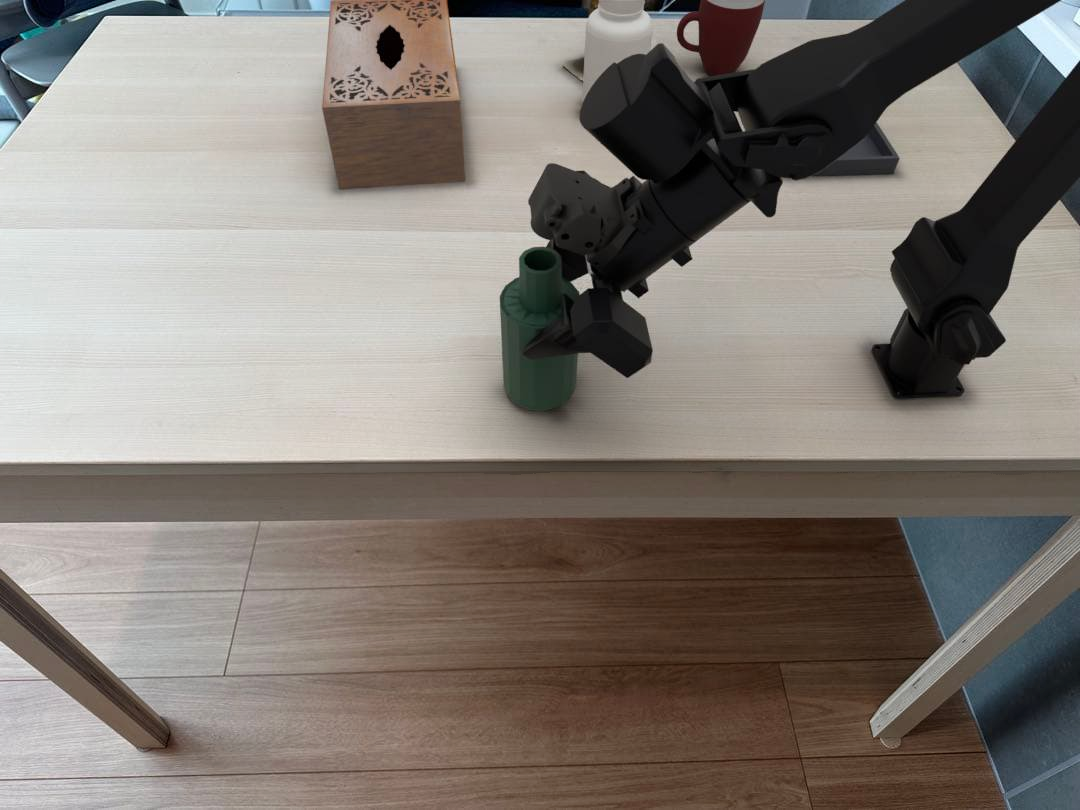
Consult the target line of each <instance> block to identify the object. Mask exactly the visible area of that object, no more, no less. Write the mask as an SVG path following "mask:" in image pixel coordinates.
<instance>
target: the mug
mask: <svg viewBox="0 0 1080 810" xmlns="http://www.w3.org/2000/svg"><path fill="white" fill-rule="evenodd" d="M765 3H766V0H700V4H699V7H698V11H689V12H687V13H686V14H684V15H683V17H682V18H681V19H680V20H679V22H678V24H677V27H676V39H677V42H678V44H679V45H680V46H681V47H682V48H683V49H685V50H686V51H689V52H694V53H698V55H699V57H700V60H701V63H702V66H703V68H704V71H705V73H707V75H710V76H716V75H722V74H728V73H734V72H737V70H738V68H739V67H740V66H741V65H742V64H743V62H744V61H745V60H746V58H747V56H748V54H749V51H750V49H751V47H752V44H753V42H754V39H755V36H756V35H757V31H758V29H759V27H760V24H761V21H762V17H763V12H764V9H765ZM691 22H698V23H697V24H698V44H693V43H690V42H688V41H687V39H686V38H685V35H684V34H685V33H684V32H685V29H686V27H687V25H688V24H689V23H691Z"/></svg>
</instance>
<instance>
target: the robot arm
mask: <svg viewBox="0 0 1080 810" xmlns="http://www.w3.org/2000/svg"><path fill="white" fill-rule="evenodd" d="M1061 1H1062V0H903V1H901V2H900V3H898V4H896V5H895V6H893V7H892V8H890V9H889V10H887V11H886V12H884V13H883V14H881V15H879V16H877V18H875V19H873V20H872V21H871V22H869V23H867V24H865V25H863V26H861V27H859V28H857V29H854V30H853V31H851V32H848V33H844V34H837V35H832V36H827V37H821V38H820V37H819V38H815V39H811V40H808V41H806V42H803V43H802V44H800V45H798V46H796V47H794V48H791V49H789V50H787V51H786V52H783V53H781V54H778V55H777V56H775V57H773V58H771V59H769V60H767V61H765V62H763V63H761V64H760V65H759V66H757V68H753V69H747V70H742V71H741V70H740V71H735V72H734V73H728V74H722V75H716V76H712V75H710V76H704V77H698V78H697V79H695V80H694V81H693V80H692V79H691V78H690V77H689V76H688V74H687V73H686V72H685V71H684V70H683V69H682V67H680V65H679V63H678V61H677V59H676V57H675V55H674V54H673V53H672V52H671V50H670V49H669V48H668V47H667V46H666V45H665V43H662V42H661V43H660V42H659V43H657V44H656V45H655V46H653V48H651V50H650V52H649V53H647V54H646V55H645V54H635V55H631V56H629V57H627V58H625V59H623V60H622V61H620V62H619V63H617V64H616V63H615V62H614V63H612V64H611V65H610V66H609V67H608V68H607V69H606V70H605V71H604V72H603V73H602V74H601V75H600V76H599V77H598V79H597V80H596V81H595V83H594V84H593V85H592V87H591V88H590V90H589V91H588V93H587V95H586V97H585V99H584V101H583V103H582V102H581V103H582V104H581V106H580V111H579V119H578V120H579V123H580V124H581V125H580V126H582V128H584V129H585V130H586V131H587V132H588V133H589V134H590V135H591V136H592V137H593V138H594V139H595V140H596V141H597V142H598V143H600V144H601V145H602V146H603V147H604V148H605V149H607V151H608V152H610V154H612V155H613V156H614V157H615V158H616V159H617V160H618V161H619V162H620V163H621V164H622V165H624V167H626V168H627V169H628V170H629V171H630V172H631V173H632V174H633V175H632V176H631V177H630V178H628V177H624V178H623V179H622V180H620V182H618V183H617V184H616V185H614V186H612V187H611V186H609V185H606V184H605V183H602V182H601V181H599V180H598V179H597V178H595V177H593V176H592V175H590V174H589V173H588V172H587V171H585V170H574V169H572V168H569V167H567V166H566V167H565V166H564V165H560V164H558V163H553V162H550V163H547V164H546V166H545V168H544V169H543V171H542V173H541V176H539V178H538V181H537V182H536V184H535V186H534V189H533V190H532V192H531V194H530V196H529V197H528V200H527V202H528V203H527V204H528V206H529V208H530V209H529V210H530V222H529V223H530V227H531V230H532V231H533V233H535V235H536V236H539V237H540V238H542V239H545V240H547V241H548V242H547V244H546V246H545V247H547V248H551V249H554V250H555V251H556V252H557V253H558V254H560V255H561V260H562V276H561V277H562V278H564V279H566V280H567V281H569V282H571V283H573V281H575V280H578V279H580V278H581V277H583V276H586V275H590V277H591V283H592V288H591V287H590V288H587V289H585V290H584V291H583V292H581V293H579V294H580V295H579V296H578V297H577V298H576V300H573V299H572V298H571V297H569V296H568V295H566V294H565V293H563V295H562V311H561V314H560V315H559V316H558V317H557V318H556V319H554V320H553V321H552V322H551V323H550V324H549V325H548V326H547V327H546V328H544V329H543V330H542V331H541V332H540V333H539V334H538V335H537V336H536V337H534V338H533V339H532V340H531V341H530V342H529V343H528V344H527V346H526V347H525V348H524V349H523V350H522V355H523V356H524V357H526V358H527V359H529V360H536V359H543V358H550V357H557V356H564V355H571V354H578V355H579V354H591V355H593V356H594V357H595V358H597V359H599V360H600V361H601V362H603V363H604V364H606V365H607V366H609V367H610V368H612V369H613V370H615V371H616V372H617V373H619V374H620V375H622V376H624V377H625V378H626V379H629V378H631V377H632V376H633V375H635V374H636V373H638V372H639V371H641V370H642V369H644V368H645V367H647V366H649V365H650V364H651V363H652V359H653V352H654V349H653V344H652V341H651V337H650V336H651V335H650V332H649V328H648V322H647V319H646V317H645V315H643V314H641V313H640V312H639V311H638V310H636V309H635V308H634V307H632V306H631V305H630V304H629V303H627V302H626V301H624V296H623V293H624V292H627V291H629V292H630V293H631V294H632V295H633V296H635V297H636V298H637V299H640V298H641V297H643V296H644V295H645V294H647V293H648V292H650V289H649V286H648V282H647V278H649V277H650V276H651V275H653V274H654V273H656V272H658V271H659V270H660V269H661V268H662V267H664V266H665V265H666V264H668V263H670V262H671V261H672V260H673V261H674V262H675V264H677V265H678V266H680V267H681V268H683V267H684V266H685V265H686V264H688V263H689V262H691V261H692V260H693V256H692V253H691V249H690V247H691V246H692V245H695V243H696V242H698V241H699V240H700V239H701V238H703V237H705V236H706V235H707V234H708V233H710V232H711V231H713V230H714V229H715V228H716V227H718V226H719V225H720V224H722V223H723V222H725V221H726V220H727V219H729V218H730V217H731V216H733V215H734V214H735V213H737V212H738V211H739V210H741V209H742V208H744V207H745V206H746V205H748V204H749V203H752V204H753V206H755V207H756V208H757V210H759V211H760V212H761V213H762V214H763V215H764V216H765V217H766V218H769V219H770V218H773V217H774V216H775V215H776V213H777V205H778V197H779V192H780V189H781V187H782V185H783V183H784V181H783V179H792V180H793V181H800V180H805V179H807V178H810V177H813V176H812V175H814V174H817V173H819V172H820V171H822V170H823V169H825V168H826V167H828V166H829V165H830V164H832V163H833V162H834V161H836V160H837V159H838V158H840V157H841V156H842V155H844V154H845V153H846V152H848V151H849V150H850V149H852V148H853V147H854V146H856V145H857V144H858V143H859V142H861V141H862V140H863V139H864V138H865V137H866V136H867V135H868V133H869V132H870V130H871V129H872V128H873V126H874V125H875V123H876V122H877V123H878V121H879V119H880V118H881V116H882V115H883V113H884V112H885V111H886V110H887V109H888V108H889V106H891V105H893V104H894V103H895V102H896V101H898V100H899V99H900V98H901V97H903V96H904V95H905V94H907V93H909V92H910V91H912V90H913V89H915V88H917V87H919V86H920V85H922V84H923V83H925V82H927V81H929V80H930V79H932V78H934V77H935V76H937V75H938V74H940V73H942V72H944V71H945V70H948V69H949V68H951V67H952V66H954V65H955V64H958V63H959V62H960V61H962V60H964V59H966V58H967V57H969V56H971V55H972V54H974V53H976V52H977V51H979V50H981V49H982V48H984V47H985V46H987V45H989V44H991V43H992V42H995V41H996V40H997V39H999V38H1000V37H1001V38H1002V37H1003V36H1004V35H1005V34H1008V33H1009V32H1011V31H1013V30H1014V29H1017V27H1019V26H1021V25H1023V24H1024V23H1026V22H1028V21H1029V20H1031V19H1033V18H1034V17H1036V16H1037V15H1040V14H1041V13H1043V12H1045V11H1046V10H1048V9H1050V8H1051V7H1053V6H1054V5H1056V4H1058V3H1060V2H1061ZM736 113H737V115H738V116H739V119H740V122H739V120H738V117H737V115H736ZM740 123H741V124H742V126H741V124H740ZM742 127H743V129H744V131H743V129H742ZM638 178H639V179H640V180H642V181H643V182H641V181H640V180H639V179H638ZM1079 179H1080V60H1078V62H1077V63H1076V64H1075V65H1074V67H1073V68H1072V69H1071V71H1070V72H1068V74H1067V75H1066V77H1065V78H1064V80H1063V81H1062V82H1061V83H1060V84H1059V85H1058V87H1057V88H1056V90H1055V91H1054V92H1053V93H1052V95H1050V97H1049V99H1048V100H1047V101H1046V102H1045V103H1044V104H1043V106H1042V107H1041V108H1040V110H1039V111H1038V112H1037V114H1036V115H1035V116H1034V117H1033V119H1032V120H1031V121H1030V122H1029V124H1028V125H1027V126H1026V127H1025V128H1024V129H1023V131H1022V132H1021V134H1020V135H1019V136H1018V137H1017V139H1016V140H1015V141H1014V142H1013V143H1012V145H1011V146H1010V147H1009V149H1008V150H1007V151H1006V152H1005V154H1004V155H1003V156H1002V158H1001V159H1000V160H999V162H998V163H996V165H995V166H994V168H993V169H992V170H991V172H989V174H988V175H987V177H986V178H985V179H984V180H983V182H982V183H981V184H980V185H979V186H978V188H977V189H976V190H975V192H974V193H973V194H972V195H971V197H970V198H969V199H968V200H967V202H966V203H965V205H964V206H963V207H962V208H960V210H957V211H955V212H953V213H951V214H947V215H946V216H943V217H940V218H938V219H936V220H933V219H931V218H928V217H926V216H921V218H919V219H917V220H916V221H915V222H914V225H913V226H912V228H911V230H910V232H909V233H908V235H907V237H906V238H905V239H904V240H903V241H902V242H900V244H899V245H898V246H896V247H894V248H893V250H891V255H892V256H893V257H894V258H893V260H892V262H891V263H890V267H889V271H890V275H891V280H892V282H893V284H894V286H895V287H896V289H897V291H898V293H899V294H900V296H901V299H902V300H903V302H904V304H905V306H906V308H905V309H904V310H903V313H902V314H901V316H900V318H899V321H898V322H897V324H896V326H895V329H894V331H893V332H892V335H891V337H890V339H889V341H890V342H889V343H874V344H873V345H872V346H871V349H870V351H871V354H872V355H873V358H874V360H875V362H876V364H877V367H878V368H879V370H880V372H881V374H882V377H883V379H884V380H885V383H886V385H887V387H888V389H889V391H890V393H891V395H892V397H893V398H894V399H897V400H908V399H909V400H910V399H911V400H912V399H929V398H930V399H931V398H932V399H933V398H950V397H951V398H952V397H953V398H954V397H962V396H963V394H964V393H965V388H964V386H963V384H962V382H961V380H960V379H959V377H958V376H959V375H960V373H961V371H962V370H963V368H964V367H965V366H966V365H967V366H968V365H970V364H971V362H972V361H974V360H976V359H980V358H982V359H983V358H984V359H985V358H989V357H991V356H992V355H993V354H994V353H995V352H996V351H997V350H998V349H1000V348H1001V347H1002V346H1003V345H1004V344H1005V343H1006V342H1007V338H1006V337H1005V336H1004V334H1003V332H1002V331H1001V330H1000V328H999V326H998V324H997V323H996V321H995V320H994V319H993V317H992V315H991V312H992V311H993V310H994V308H995V307H996V305H997V304H998V303H999V301H1000V299H1001V298H1002V297H1003V296H1004V294H1005V293H1006V291H1007V290H1008V288H1009V285H1010V281H1011V277H1012V272H1013V268H1014V265H1015V261H1016V257H1017V252H1018V249H1019V247H1020V246H1021V244H1022V243H1023V241H1024V240H1026V238H1027V237H1028V236H1029V235H1030V234H1031V232H1032V231H1033V230H1034V229H1035V228H1036V227H1037V226H1038V225H1039V223H1040V222H1041V221H1042V220H1044V218H1045V217H1046V216H1047V215H1048V214H1049V213H1050V211H1051V210H1053V208H1054V207H1055V206H1056V205H1057V203H1059V201H1060V200H1061V199H1062V198H1063V197H1064V196H1065V194H1066V193H1067V192H1069V190H1070V189H1071V188H1072V186H1074V185H1075V184H1076V182H1077V181H1078V180H1079ZM622 292H623V293H622Z"/></svg>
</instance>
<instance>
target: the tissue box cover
mask: <svg viewBox="0 0 1080 810" xmlns="http://www.w3.org/2000/svg"><path fill="white" fill-rule="evenodd" d="M327 30H328V31H327V41H326V55H325V65H324V66H325V68H324V79H323V80H324V81H323V91H322V92H323V93H322V104H321V109H322V113H323V119H324V123H325V128H326V133H327V138H328V142H329V147H330V152H331V157H332V163H333V166H334V171H335V176H336V181H337V186H338V189H339V190H351V189H363V188H364V189H365V188H366V189H367V188H380V187H381V188H382V187H395V186H396V187H397V186H414V185H426V184H427V185H429V184H442V183H459V182H460V183H461V182H466V181H467V179H466V166H465V164H466V163H465V148H464V135H463V134H464V133H463V121H462V119H463V118H462V105H461V93H460V88H459V80H458V73H457V65H456V58H455V50H454V42H453V35H452V27H451V19H450V13H449V6H448V0H330V5H329V18H328V29H327Z"/></svg>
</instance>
